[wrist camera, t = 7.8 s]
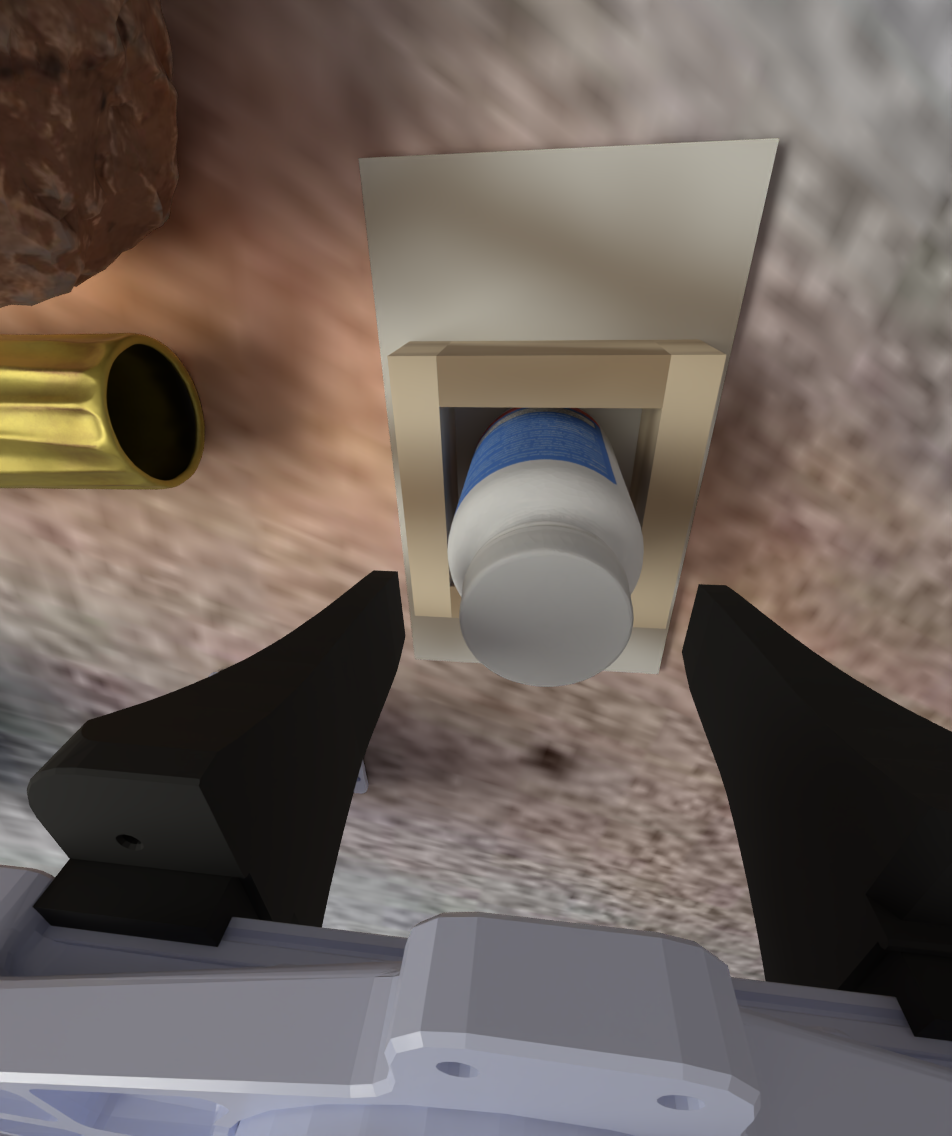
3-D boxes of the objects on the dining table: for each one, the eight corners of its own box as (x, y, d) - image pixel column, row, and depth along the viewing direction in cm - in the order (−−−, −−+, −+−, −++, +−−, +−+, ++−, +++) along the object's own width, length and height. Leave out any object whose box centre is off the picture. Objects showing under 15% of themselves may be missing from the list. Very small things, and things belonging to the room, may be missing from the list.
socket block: (656, 668, 25) (671, 722, 22) (416, 653, 26) (400, 703, 23) (773, 140, 14) (831, 112, 11) (362, 160, 16) (321, 139, 13)
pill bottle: (445, 453, 20) (375, 595, 12) (560, 364, 18) (575, 461, 9) (527, 552, 22) (517, 734, 14) (640, 482, 20) (711, 649, 11)
